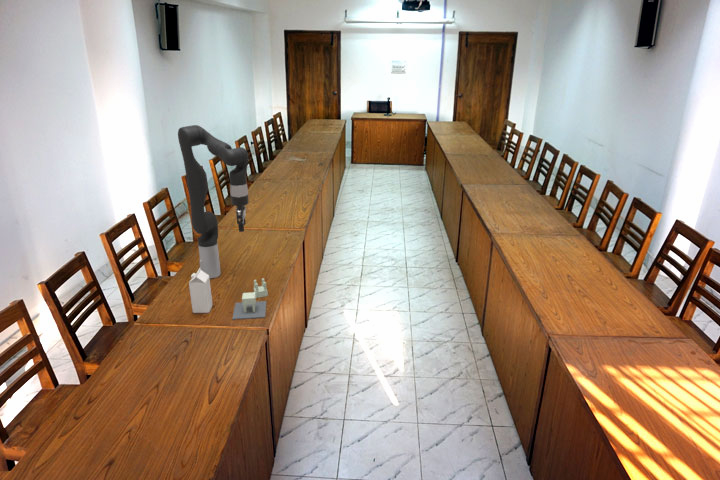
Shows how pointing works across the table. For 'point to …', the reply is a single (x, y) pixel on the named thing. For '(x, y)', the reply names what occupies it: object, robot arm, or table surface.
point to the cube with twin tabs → (249, 300)
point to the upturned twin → (260, 289)
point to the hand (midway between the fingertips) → (242, 228)
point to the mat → (250, 311)
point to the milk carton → (200, 292)
